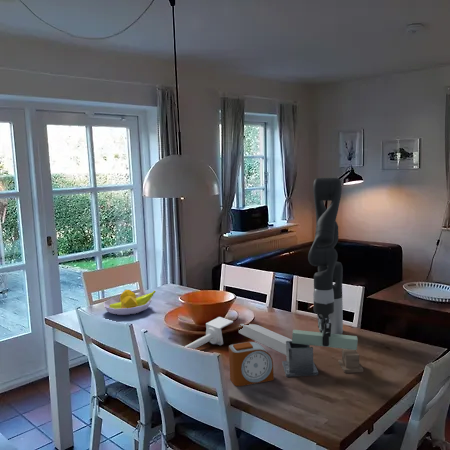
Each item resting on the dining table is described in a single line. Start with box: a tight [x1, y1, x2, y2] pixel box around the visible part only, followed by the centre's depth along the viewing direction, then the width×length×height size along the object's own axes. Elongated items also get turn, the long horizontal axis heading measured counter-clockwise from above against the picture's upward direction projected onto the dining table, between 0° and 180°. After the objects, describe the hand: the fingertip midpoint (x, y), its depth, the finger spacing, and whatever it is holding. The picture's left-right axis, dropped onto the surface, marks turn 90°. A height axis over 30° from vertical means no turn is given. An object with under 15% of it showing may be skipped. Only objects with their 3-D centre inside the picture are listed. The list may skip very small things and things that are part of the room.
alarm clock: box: [228, 341, 275, 387], centre depth 171 cm, size 15×8×14 cm, turn 106°
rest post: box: [338, 348, 364, 374], centre depth 178 cm, size 9×7×6 cm
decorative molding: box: [238, 323, 292, 356], centre depth 208 cm, size 34×5×10 cm
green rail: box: [291, 329, 359, 351], centre depth 177 cm, size 4×24×4 cm, turn 79°
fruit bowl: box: [103, 289, 156, 316], centre depth 258 cm, size 28×27×11 cm
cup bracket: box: [281, 341, 319, 378], centre depth 178 cm, size 11×12×10 cm
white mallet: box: [185, 316, 234, 350], centre depth 202 cm, size 9×9×32 cm
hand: (324, 343), depth 177 cm, fingers open, 4 cm apart
